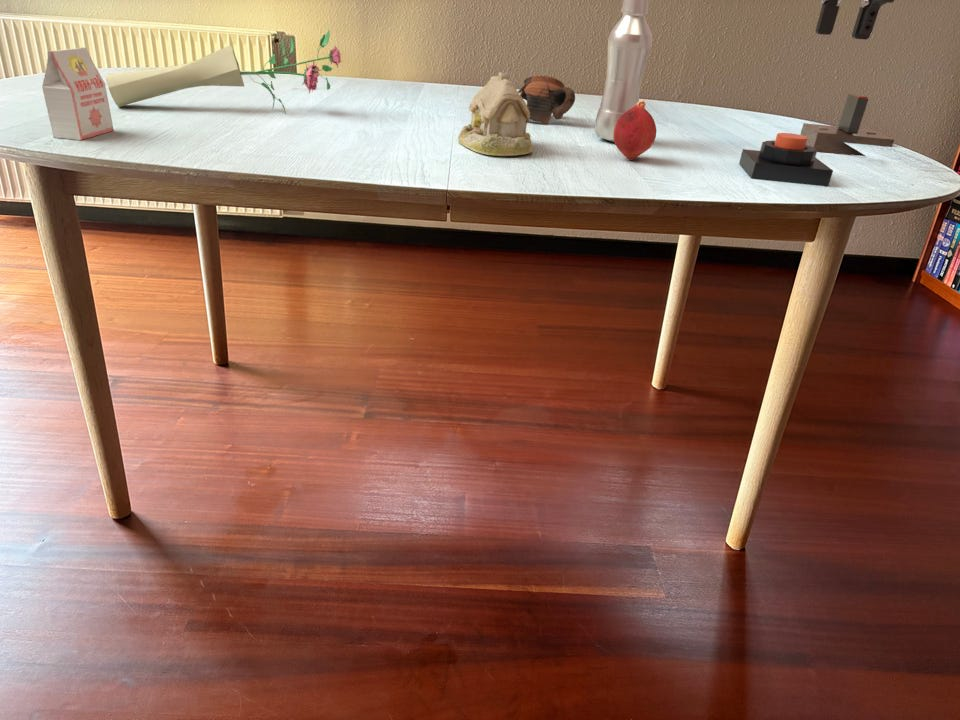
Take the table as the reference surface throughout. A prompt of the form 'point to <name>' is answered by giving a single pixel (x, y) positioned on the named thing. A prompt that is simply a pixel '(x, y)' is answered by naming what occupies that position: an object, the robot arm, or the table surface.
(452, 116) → the table surface
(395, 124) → the table surface
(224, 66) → the flower vase
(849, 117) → the dark grey rectangular block
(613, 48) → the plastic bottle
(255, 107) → the table surface
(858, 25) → the robot arm
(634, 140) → the onion
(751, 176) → the button housing
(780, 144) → the button
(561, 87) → the pottery mug
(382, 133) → the table surface
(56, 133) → the white gable-top carton
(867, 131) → the brown switch base
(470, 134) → the ceramic model
